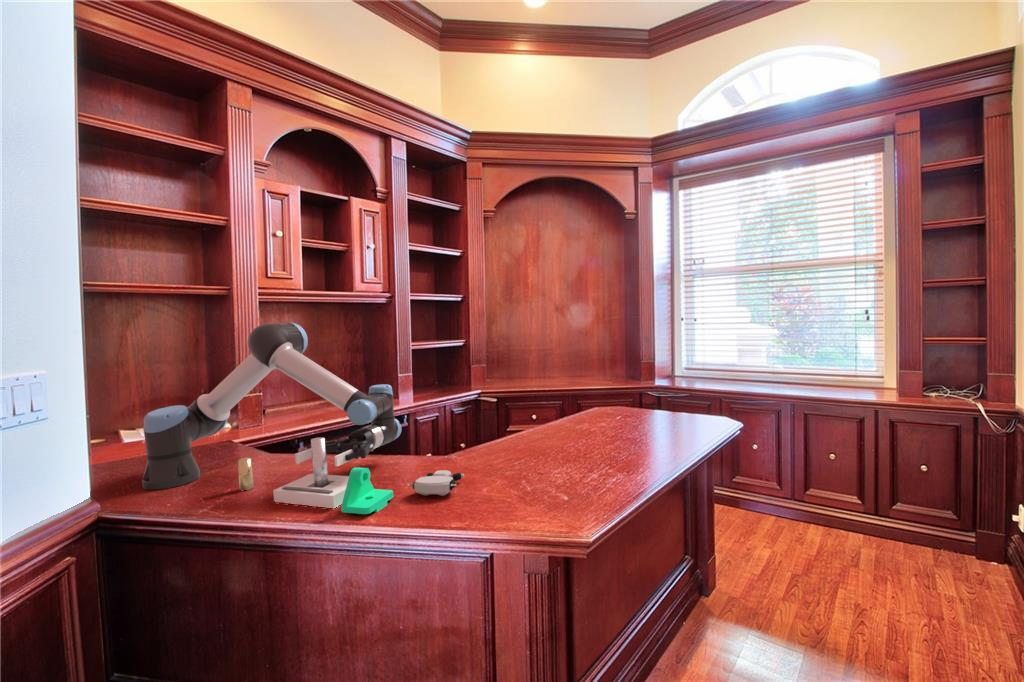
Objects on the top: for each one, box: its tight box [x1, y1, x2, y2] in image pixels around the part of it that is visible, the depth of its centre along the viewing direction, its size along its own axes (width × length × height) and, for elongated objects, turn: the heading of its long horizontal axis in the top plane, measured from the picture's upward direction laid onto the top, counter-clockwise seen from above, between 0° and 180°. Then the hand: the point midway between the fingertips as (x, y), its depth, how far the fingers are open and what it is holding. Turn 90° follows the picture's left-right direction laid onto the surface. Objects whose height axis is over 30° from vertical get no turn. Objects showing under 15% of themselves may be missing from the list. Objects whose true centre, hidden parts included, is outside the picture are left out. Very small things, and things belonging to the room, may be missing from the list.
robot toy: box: [407, 469, 465, 497], centre depth 134 cm, size 12×4×15 cm
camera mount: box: [340, 467, 394, 515], centre depth 124 cm, size 12×8×10 cm, turn 162°
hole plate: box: [272, 472, 349, 510], centre depth 134 cm, size 20×14×4 cm
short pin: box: [236, 456, 255, 491], centre depth 144 cm, size 4×4×9 cm
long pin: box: [310, 436, 329, 488], centre depth 134 cm, size 4×4×16 cm
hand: (315, 460), depth 132 cm, fingers open, 13 cm apart
